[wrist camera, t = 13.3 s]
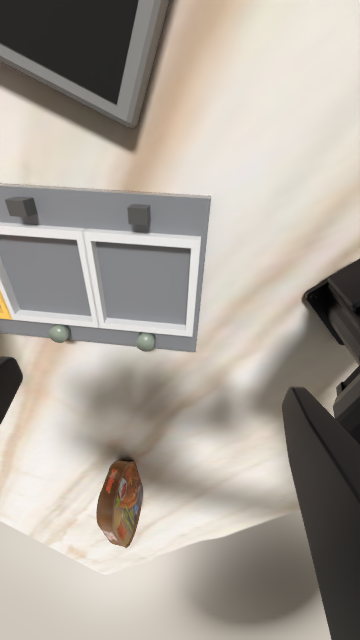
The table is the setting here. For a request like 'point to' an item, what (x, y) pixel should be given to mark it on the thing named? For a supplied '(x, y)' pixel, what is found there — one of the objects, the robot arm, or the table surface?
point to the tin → (120, 503)
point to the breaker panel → (102, 265)
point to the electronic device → (86, 49)
